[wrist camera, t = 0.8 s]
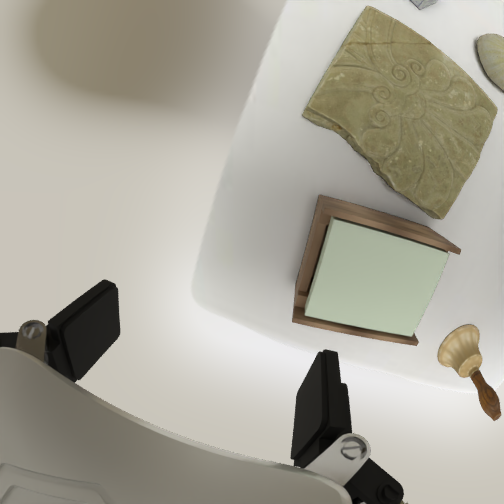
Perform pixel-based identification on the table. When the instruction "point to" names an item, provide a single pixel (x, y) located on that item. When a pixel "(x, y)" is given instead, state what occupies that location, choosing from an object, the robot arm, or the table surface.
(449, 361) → the hand bell
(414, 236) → the box
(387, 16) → the decorative tile
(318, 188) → the table surface
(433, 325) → the table surface
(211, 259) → the table surface
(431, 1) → the medicine box
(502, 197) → the table surface
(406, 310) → the cover plate
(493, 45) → the sea urchin shell
